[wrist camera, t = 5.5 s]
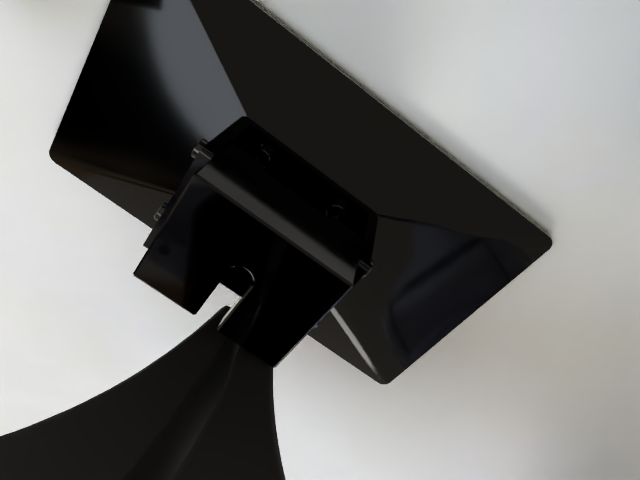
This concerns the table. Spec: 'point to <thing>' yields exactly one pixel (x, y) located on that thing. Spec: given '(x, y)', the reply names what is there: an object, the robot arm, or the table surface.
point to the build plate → (284, 187)
